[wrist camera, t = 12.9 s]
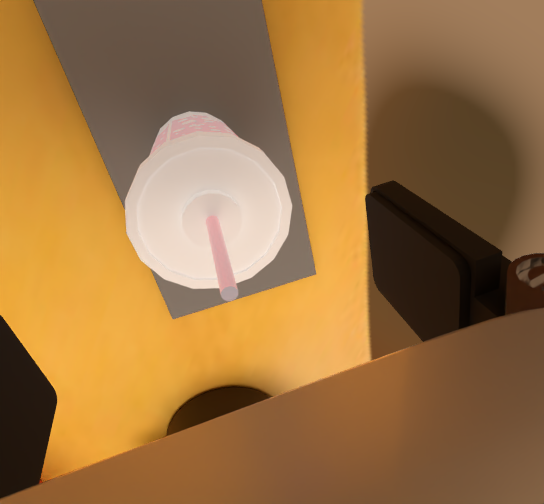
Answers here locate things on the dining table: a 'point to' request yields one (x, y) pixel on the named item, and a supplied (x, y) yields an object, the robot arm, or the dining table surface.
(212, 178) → the beverage cup
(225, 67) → the plain gray mat
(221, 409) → the mug
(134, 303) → the dining table surface
